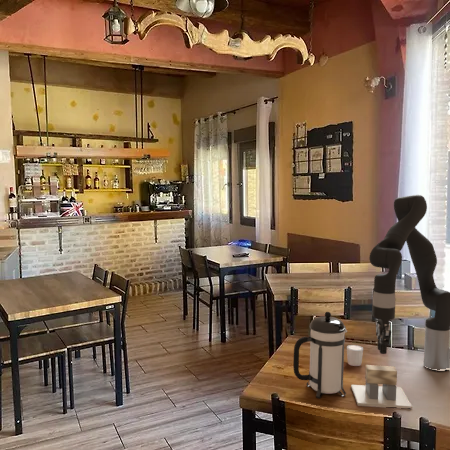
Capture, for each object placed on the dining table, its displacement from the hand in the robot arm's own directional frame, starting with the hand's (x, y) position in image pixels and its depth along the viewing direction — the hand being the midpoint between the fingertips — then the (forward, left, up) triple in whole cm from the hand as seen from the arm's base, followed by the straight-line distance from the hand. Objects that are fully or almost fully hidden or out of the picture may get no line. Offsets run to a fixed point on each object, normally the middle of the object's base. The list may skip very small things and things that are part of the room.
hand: (381, 351), depth 156 cm
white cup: (+4, -30, -17) cm, 35 cm away
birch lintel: (0, 0, -11) cm, 11 cm away
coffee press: (+20, -2, -17) cm, 27 cm away
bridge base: (0, 0, -17) cm, 17 cm away
